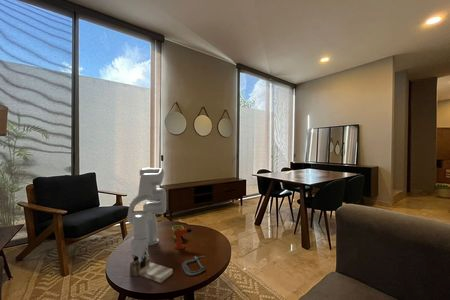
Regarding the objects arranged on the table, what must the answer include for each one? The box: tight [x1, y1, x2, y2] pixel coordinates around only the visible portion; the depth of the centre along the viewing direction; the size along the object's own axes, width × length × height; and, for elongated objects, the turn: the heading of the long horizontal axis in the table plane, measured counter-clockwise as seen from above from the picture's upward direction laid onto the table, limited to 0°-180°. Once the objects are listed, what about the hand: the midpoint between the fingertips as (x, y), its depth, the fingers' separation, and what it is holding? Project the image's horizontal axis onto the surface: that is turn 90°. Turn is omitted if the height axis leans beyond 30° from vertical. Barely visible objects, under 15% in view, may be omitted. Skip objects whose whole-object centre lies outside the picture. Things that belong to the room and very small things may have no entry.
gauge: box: [129, 256, 150, 277], centre depth 130 cm, size 5×10×7 cm, turn 154°
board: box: [138, 261, 174, 283], centre depth 129 cm, size 24×10×3 cm, turn 64°
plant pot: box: [171, 225, 185, 240], centre depth 179 cm, size 9×9×9 cm
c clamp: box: [181, 255, 206, 277], centre depth 137 cm, size 20×17×3 cm
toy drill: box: [173, 227, 199, 250], centre depth 162 cm, size 5×19×15 cm, turn 94°
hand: (139, 265), depth 130 cm, fingers closed on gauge, 5 cm apart
